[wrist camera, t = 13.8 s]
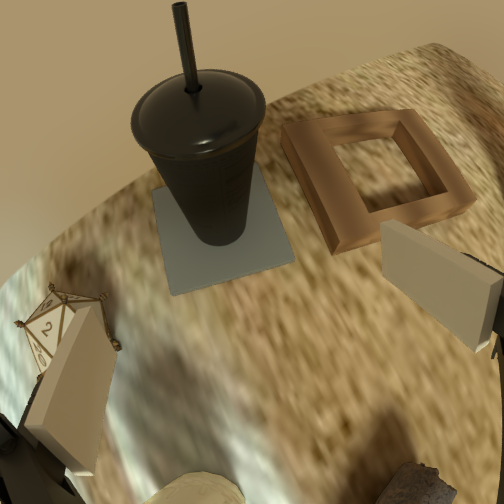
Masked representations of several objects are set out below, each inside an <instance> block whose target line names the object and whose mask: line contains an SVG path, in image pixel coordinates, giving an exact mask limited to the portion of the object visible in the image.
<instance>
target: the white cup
mask: <svg viewBox="0 0 504 504" xmlns="http://www.w3.org/2000/svg"><path fill="white" fill-rule="evenodd" d="M143 504H245V498H244V497H243V495H242V494H241V492H240V490H239V489H238V487H237V486H236V485H235V484H233V483H232V482H230V481H229V480H227V479H226V478H224V477H223V476H221V475H216V474H212V473H208V472H204V471H202V472H194V473H186V474H184V475H182V476H181V477H179V478H177V479H176V480H174V481H172V482H171V483H170V484H168V485H167V486H165V487H164V488H162V489H161V490H160V491H158V492H157V493H156V494H154V495H153V496H152V497H151V498H150V499H148V500H147V501H146V502H145V503H143Z"/></svg>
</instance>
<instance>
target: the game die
mask: <svg viewBox="0 0 504 504" xmlns="http://www.w3.org/2000/svg"><path fill="white" fill-rule="evenodd" d="M48 287H49V290H50V291H51V293H50V294H49V295H48V296H47V298H46V299H45V300H44V301H43V302H42V303H41V304H40V306H39V307H38V308H37V309H36V310H35V311H34V313H33V314H32V315H31V316H30V317H29V319H28V320H27V321H26V322H25V323H23V322H22V321H19V320H18V321H16V322H14V323H15V324H16V325H17V327H20V328H21V327H24V329H25V332H26V335H27V338H28V341H29V344H30V346H31V349H32V352H33V354H34V357H35V360H36V362H37V365H38V367H39V370H40V372H41V374H40V375H38V377H37V383H38V381H39V380H40V379H41V378H42V377H43V376H44V375H45V373H46V371H47V369H48V367H49V364H50V362H51V360H52V358H53V356H54V354H55V352H56V350H57V348H58V346H59V344H60V342H61V340H62V338H63V336H64V334H65V332H66V330H67V328H68V326H69V324H70V322H71V320H72V318H73V317H74V315H75V313H76V311H77V310H78V309H81V308H85V307H89V306H92V308H93V310H94V312H95V314H96V316H97V318H98V320H99V322H100V324H101V326H102V328H103V330H104V331H105V333H106V335H107V337H108V339H109V341H110V343H111V344H112V346H113V348H114V350H115V351H117V352H118V351H119V350H121V349H122V348H120V346H119V345H118V343H117V341H116V340H115V339H113V340H112V338H111V334H110V331H109V327H108V323H107V320H106V316H105V312H104V308H103V304H102V301H103V300H105V299H106V298H107V292H106V293H102V295H100V298H99V299H96V298H91V297H85V296H80V295H74V294H69V293H64V292H59V291H55V290H54V288H55V287H54V284H52V283H51V282H50V283H49V286H48ZM117 345H118V346H117Z"/></svg>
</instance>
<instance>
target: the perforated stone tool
mask: <svg viewBox="0 0 504 504" xmlns="http://www.w3.org/2000/svg"><path fill="white" fill-rule="evenodd" d="M438 475H439V471H438V469H437V468H431V467H425V464H423V463H422V462H421V464H416V463H412V462H408V463H404V464H403V465H402V466H401V467H400V468H399V470H398V471H397V472H396V474H395V475H394V477H393V478H392V479H391V481H390V482H389V484H388V485H387V486H386V488H385V489H384V491H383V492H382V493H381V495H380V496H379V497H378V499H377V501H376V503H375V504H452V502H453V500H454V498H455V496H456V494H457V490H456V489H454V488H452V486H450V485H447V484H446V483H445V482H444V481H443V480H442V479H440V478H439V476H438Z"/></svg>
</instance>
